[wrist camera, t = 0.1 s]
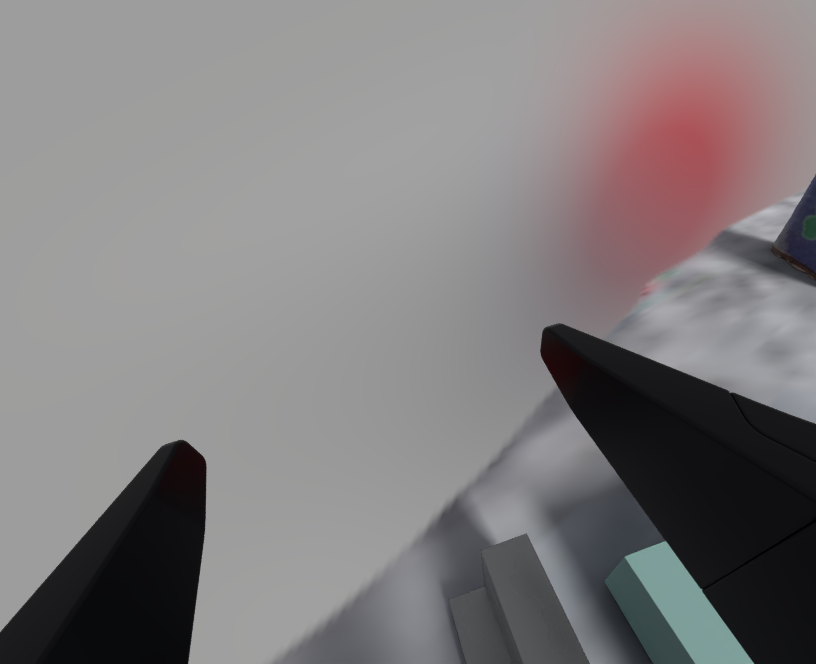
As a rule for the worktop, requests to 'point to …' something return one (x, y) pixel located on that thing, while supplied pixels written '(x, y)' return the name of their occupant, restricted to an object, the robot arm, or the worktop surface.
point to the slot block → (671, 611)
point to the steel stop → (514, 612)
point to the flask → (800, 235)
